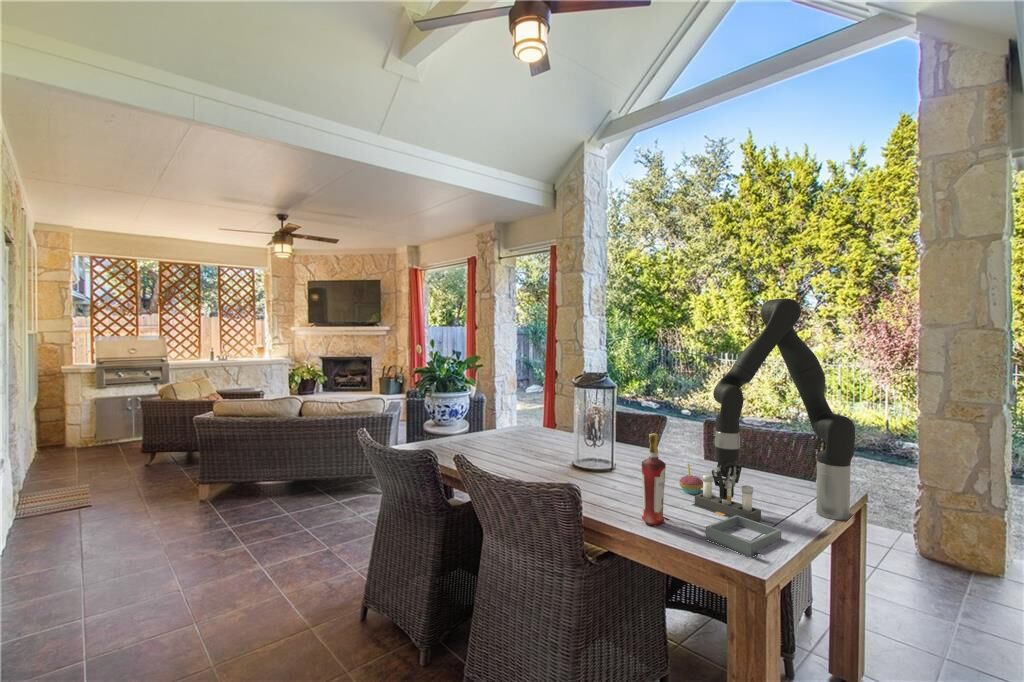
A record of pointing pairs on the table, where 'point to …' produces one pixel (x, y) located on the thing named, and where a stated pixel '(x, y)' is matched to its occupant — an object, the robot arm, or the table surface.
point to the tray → (739, 544)
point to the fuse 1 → (707, 486)
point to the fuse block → (726, 508)
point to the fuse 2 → (747, 498)
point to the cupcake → (691, 483)
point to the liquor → (653, 484)
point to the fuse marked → (728, 494)
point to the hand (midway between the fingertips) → (726, 497)
